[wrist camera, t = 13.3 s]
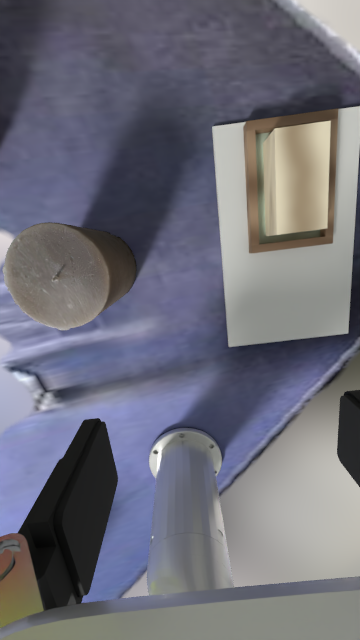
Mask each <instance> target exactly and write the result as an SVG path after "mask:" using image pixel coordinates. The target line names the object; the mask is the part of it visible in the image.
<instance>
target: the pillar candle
mask: <svg viewBox="0 0 360 640" xmlns="http://www.w3.org/2000/svg"><path fill="white" fill-rule="evenodd" d="M3 273H4V275H5V276H4V281H5V285H6V286H7V287H8V291H9V292H10V293H11V295H12V297H13V299H14V302H15V303H16V304H17V305H19V307H20V308H21V310H22V311H23V312H24V313H26V314H27V315H28V316H30V317H31V318H33V319H34V320H35V321H37V322H39V323H42V324H44V325H46V326H48V327H54V328H58V330H68V329H70V328H74V327H78V326H81V325H83V324H86V323H88V322H90V321H91V320H93V319H94V318H95V317H96V316H98V315H99V314H100V313H101V312H103V311H104V310H105V309H107V308H108V307H109V306H111V305H112V304H113V303H115V302H116V301H117V300H119V299H120V298H121V297H123V296H124V295H125V294H126V293H128V292H129V290H130V289H131V287H132V285H133V283H134V280H135V277H136V261H135V258H134V255H133V253H132V251H131V249H130V248H129V246H128V245H127V244H126V243H125V242H124V241H123V240H122V239H121V238H120V237H116V236H114V235H111V234H110V233H108V232H104V231H97V230H93V229H88V228H81V227H76V226H72V225H66V224H60V223H40V224H36V225H33V226H31V227H29V228H27V229H25V230H24V231H22V232H21V233H20V234H19V235H18V236H17V237H16V238H15V239H14V240H13V242H12V243H11V245H10V247H9V248H8V251H7V254H6V258H5V264H4V266H3Z"/></svg>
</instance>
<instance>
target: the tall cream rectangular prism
mask: <svg viewBox="0 0 360 640" xmlns="http://www.w3.org/2000/svg"><path fill="white" fill-rule="evenodd" d="M330 127H331V121H325V122H317V123H310V124H303V125H296V126H289V127H282V128H275V129H274V130H273V131H272V132H271V134H270V135H269V136H268V137H267V139H266V140H265V141H264V142H263V164H264V196H265V229H266V236H273V235H281V234H288V233H296V232H304V231H312V230H319V229H327V223H328V191H329V159H330Z"/></svg>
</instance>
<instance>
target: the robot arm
mask: <svg viewBox="0 0 360 640" xmlns="http://www.w3.org/2000/svg"><path fill="white" fill-rule="evenodd" d="M337 454H338V457H339V460H340V462H341V463H342V464H343V466H344V467H345V468H346V470H347V471H348V472H349V474H350V475H351V476H352V478H353V479H354V480H355V481H356V483H357V484H358V485H359V487H360V390H355V391H347V392H345V393H344V396H341V398H340V411H339V429H338V448H337ZM221 465H222V456H221V451H220V448H219V446H218V444H217V442H216V441H215V440H214V439H213V438H212V437H211V436H210V435H208V434H207V433H205V432H203V431H201V430H197V429H194V428H178V429H174V430H171V431H169V432H166V433H165V434H163V435H161V436H160V437H159V438H158V439H157V440H156V441H155V443H154V444H153V446H152V448H151V450H150V456H149V466H150V470H151V472H152V474H153V475H154V477H155V478H156V485H155V496H154V506H153V516H152V527H151V537H150V547H149V557H148V569H147V585H148V592H149V596H140V597H131V598H122V599H114V600H106V601H97V602H89V603H81V602H82V598H83V595H87V594H88V593H89V590H90V587H91V583H92V580H93V576H94V572H95V568H96V564H97V560H98V556H99V553H100V549H101V545H102V541H103V537H104V533H105V530H106V526H107V522H108V518H109V514H110V510H111V506H112V503H113V499H114V495H115V491H116V487H117V482H118V476H117V471H116V466H115V462H114V458H113V454H112V449H111V445H110V441H109V437H108V432H107V428H106V424H105V422H101V420H100V419H99V418H97V419H87V420H84V421H83V422H82V424H81V426H80V428H79V430H78V432H77V433H76V435H75V437H74V439H73V441H72V442H71V444H70V446H69V448H68V450H67V451H66V453H65V455H64V457H63V458H62V459H60V460H59V462H58V463H57V465H56V466H55V468H54V470H53V472H52V473H51V475H50V477H49V479H48V480H47V482H46V484H45V486H44V488H43V489H42V491H41V493H40V495H39V496H38V498H37V500H36V502H35V503H34V505H33V507H32V509H31V511H30V512H29V514H28V516H27V518H26V519H25V521H24V523H23V525H22V526H21V528H20V530H19V532H18V533H11V534H7V535H4V536H2V537H0V640H360V577H348V578H336V579H324V580H314V581H302V582H290V583H279V584H268V585H257V586H245V587H235V588H234V584H233V579H232V573H231V567H230V561H229V555H228V548H227V542H226V536H225V530H224V524H223V518H222V512H221V505H220V499H219V493H218V487H217V481H216V476H217V475H218V473H219V471H220V469H221Z"/></svg>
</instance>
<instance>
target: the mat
mask: <svg viewBox="0 0 360 640" xmlns="http://www.w3.org/2000/svg"><path fill="white" fill-rule="evenodd" d="M245 123H246V122H242V123H235V124H227V125H220V126H213V127H212V133H213V147H214V160H215V174H216V187H217V201H218V214H219V227H220V241H221V254H222V268H223V281H224V294H225V308H226V321H227V335H228V346H229V347H234V346H243V345H252V344H260V343H269V342H278V341H287V340H295V339H304V338H313V337H321V336H330V335H339V334H348V329H349V312H350V296H351V280H352V263H353V247H354V231H355V214H356V198H357V182H358V165H359V149H360V106H357V107H350V108H343V109H338V130H337V155H336V180H335V205H334V230H333V243H332V244H324V245H316V246H308V247H300V248H292V249H284V250H276V251H268V252H260V253H249V242H248V220H247V198H246V177H245V155H244V133H243V127H244V125H245Z"/></svg>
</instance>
